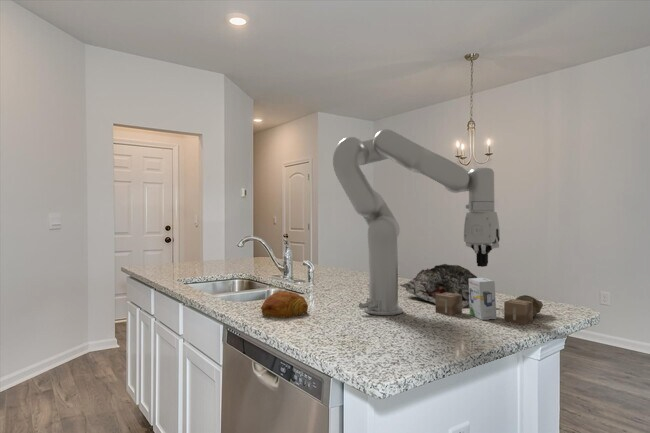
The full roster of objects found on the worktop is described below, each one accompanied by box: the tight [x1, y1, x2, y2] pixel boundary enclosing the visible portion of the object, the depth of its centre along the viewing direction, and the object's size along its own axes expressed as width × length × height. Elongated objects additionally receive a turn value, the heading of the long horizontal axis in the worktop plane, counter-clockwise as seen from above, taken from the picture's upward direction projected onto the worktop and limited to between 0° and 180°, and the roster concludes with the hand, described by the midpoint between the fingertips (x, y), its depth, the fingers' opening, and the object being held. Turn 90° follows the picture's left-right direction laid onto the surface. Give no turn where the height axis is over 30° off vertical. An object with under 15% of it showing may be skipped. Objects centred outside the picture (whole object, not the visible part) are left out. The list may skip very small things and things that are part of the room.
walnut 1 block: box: [503, 298, 534, 326], centre depth 124 cm, size 6×6×6 cm
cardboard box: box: [435, 292, 463, 317], centre depth 136 cm, size 6×6×6 cm
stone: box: [515, 294, 544, 317], centre depth 132 cm, size 13×8×8 cm
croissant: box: [260, 291, 309, 318], centre depth 137 cm, size 14×16×8 cm
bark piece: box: [398, 263, 478, 309], centre depth 157 cm, size 19×8×30 cm
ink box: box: [468, 277, 497, 321], centre depth 131 cm, size 9×5×12 cm, turn 5°
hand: (482, 266), depth 130 cm, fingers closed
